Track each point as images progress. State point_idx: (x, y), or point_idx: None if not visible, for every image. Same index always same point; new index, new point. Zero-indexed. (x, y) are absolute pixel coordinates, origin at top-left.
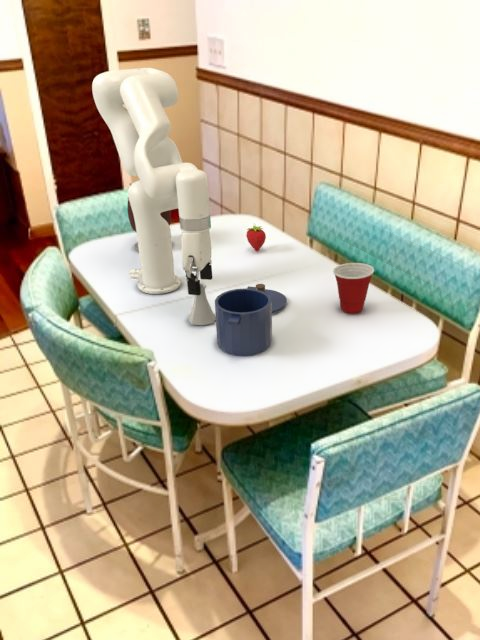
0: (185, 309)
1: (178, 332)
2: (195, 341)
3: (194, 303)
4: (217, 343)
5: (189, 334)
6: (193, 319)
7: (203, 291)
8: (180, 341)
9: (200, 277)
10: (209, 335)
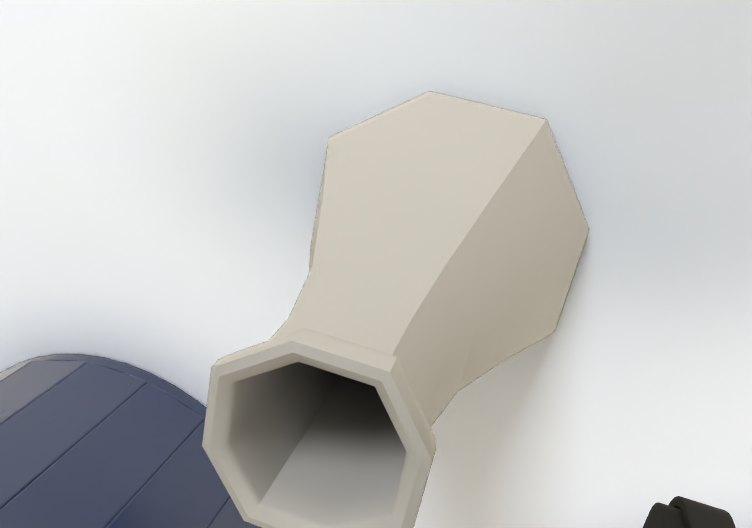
0: (733, 15)
1: (193, 14)
2: (73, 190)
3: (350, 229)
4: (27, 363)
5: (170, 128)
6: (324, 167)
7: (284, 455)
8: (51, 59)
9: (665, 517)
10: (174, 298)
